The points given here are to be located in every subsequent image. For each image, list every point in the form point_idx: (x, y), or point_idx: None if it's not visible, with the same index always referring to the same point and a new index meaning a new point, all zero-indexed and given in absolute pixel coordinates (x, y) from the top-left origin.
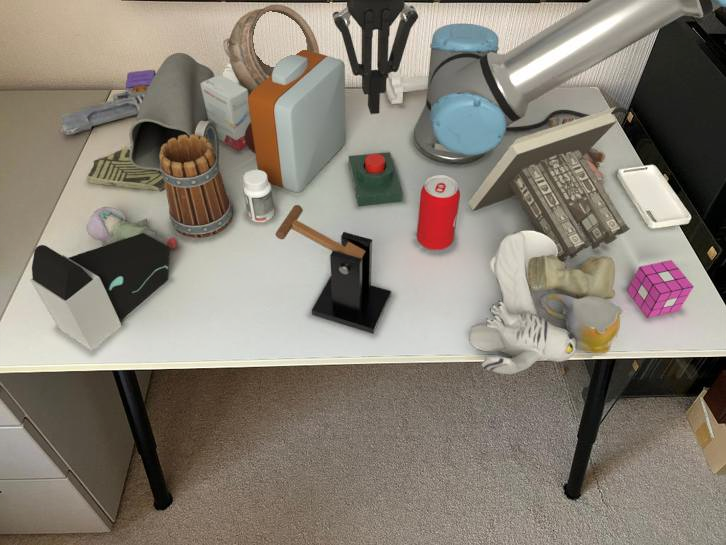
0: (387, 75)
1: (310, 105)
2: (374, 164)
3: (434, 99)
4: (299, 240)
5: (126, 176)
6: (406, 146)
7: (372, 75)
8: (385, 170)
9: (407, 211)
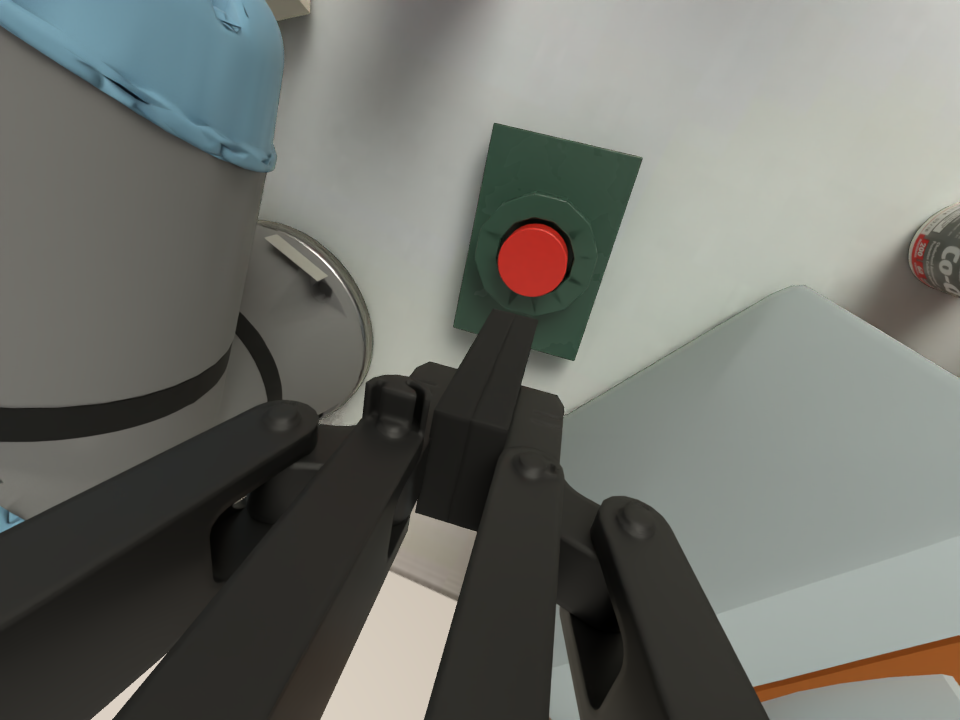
0: (371, 390)
1: (805, 502)
2: (545, 239)
3: (167, 191)
4: (928, 52)
5: None
6: (395, 353)
7: (477, 467)
8: (512, 220)
9: (503, 70)
